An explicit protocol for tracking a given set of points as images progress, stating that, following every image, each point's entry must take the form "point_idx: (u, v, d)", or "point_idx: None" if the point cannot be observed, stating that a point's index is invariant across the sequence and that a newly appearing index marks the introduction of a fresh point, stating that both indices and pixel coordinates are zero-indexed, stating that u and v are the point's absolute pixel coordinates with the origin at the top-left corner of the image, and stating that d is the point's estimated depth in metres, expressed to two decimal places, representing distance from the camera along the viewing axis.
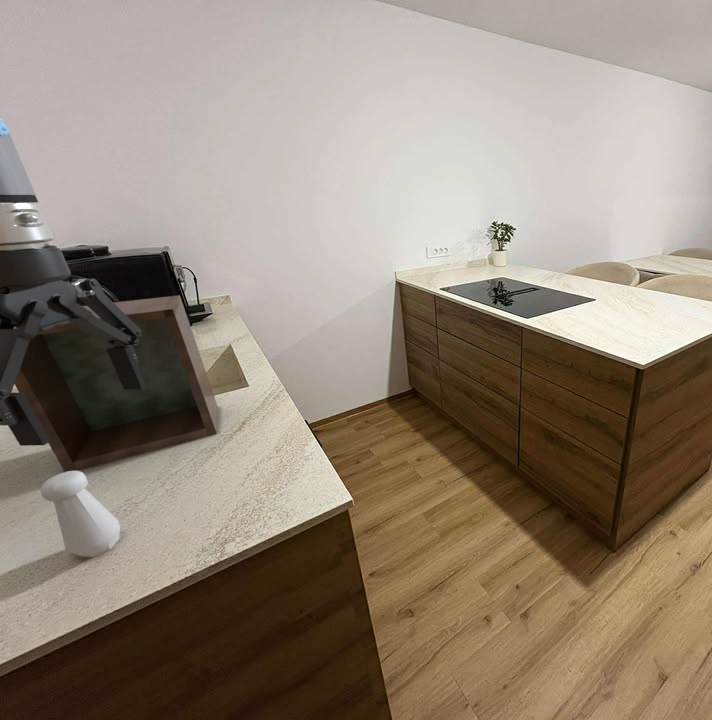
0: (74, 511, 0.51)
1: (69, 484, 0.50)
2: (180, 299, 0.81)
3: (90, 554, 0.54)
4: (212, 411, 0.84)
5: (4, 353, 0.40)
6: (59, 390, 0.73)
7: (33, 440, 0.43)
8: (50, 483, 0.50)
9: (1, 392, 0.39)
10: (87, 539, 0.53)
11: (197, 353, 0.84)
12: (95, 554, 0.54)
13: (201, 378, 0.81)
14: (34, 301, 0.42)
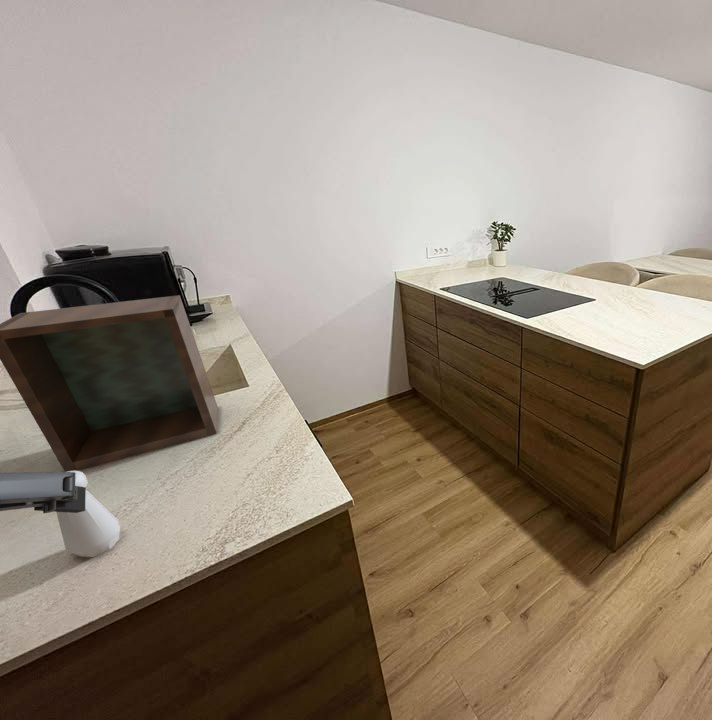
0: None
1: None
2: (180, 299, 0.81)
3: (90, 554, 0.54)
4: (212, 411, 0.84)
5: None
6: (59, 390, 0.73)
7: None
8: None
9: None
10: (87, 539, 0.53)
11: (197, 353, 0.84)
12: (95, 554, 0.54)
13: (201, 378, 0.81)
14: None
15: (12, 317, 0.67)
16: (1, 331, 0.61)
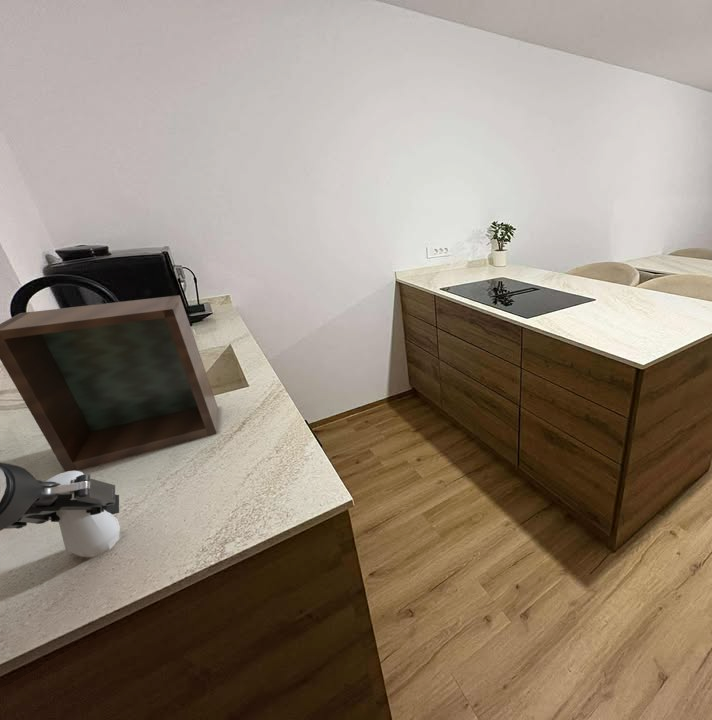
0: (73, 511, 0.51)
1: None
2: (180, 299, 0.81)
3: (90, 554, 0.54)
4: (212, 411, 0.84)
5: None
6: (59, 390, 0.73)
7: None
8: None
9: (38, 523, 0.50)
10: (87, 539, 0.53)
11: (197, 353, 0.84)
12: (95, 554, 0.54)
13: (201, 378, 0.81)
14: None
15: (12, 317, 0.67)
16: (1, 331, 0.61)
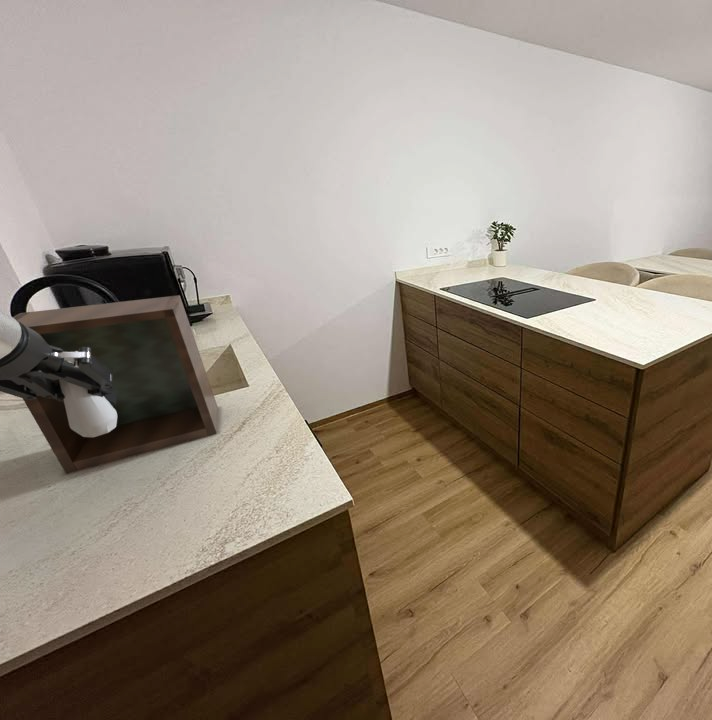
0: (77, 391, 0.59)
1: None
2: (180, 299, 0.81)
3: (91, 433, 0.62)
4: (212, 411, 0.84)
5: None
6: None
7: None
8: None
9: (46, 397, 0.58)
10: (88, 418, 0.60)
11: (197, 353, 0.84)
12: (95, 434, 0.62)
13: (201, 378, 0.81)
14: None
15: None
16: None
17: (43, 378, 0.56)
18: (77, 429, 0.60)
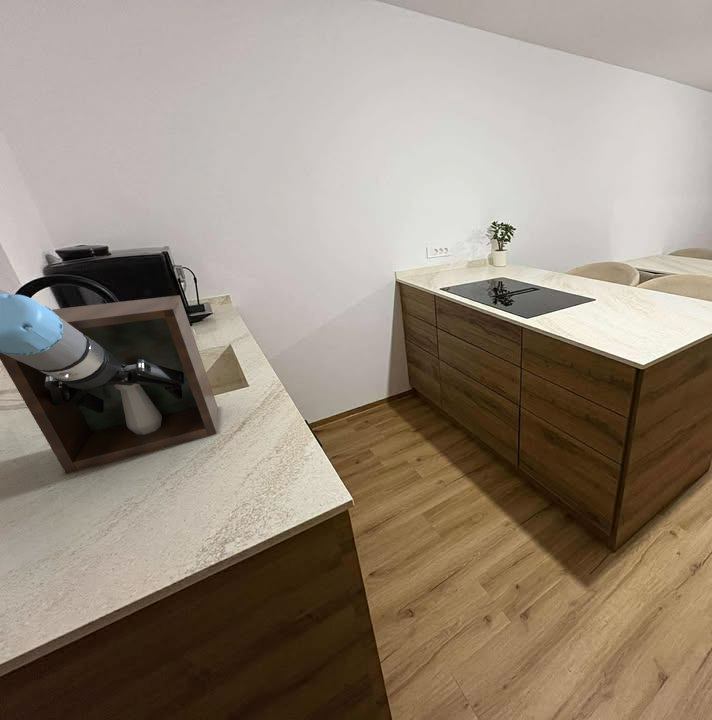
0: (133, 398, 0.76)
1: None
2: (180, 299, 0.81)
3: (143, 431, 0.79)
4: (212, 411, 0.84)
5: (75, 390, 0.69)
6: None
7: None
8: None
9: (70, 403, 0.71)
10: (141, 419, 0.78)
11: (197, 353, 0.84)
12: (146, 432, 0.79)
13: (201, 378, 0.81)
14: None
15: None
16: None
17: None
18: (133, 428, 0.77)
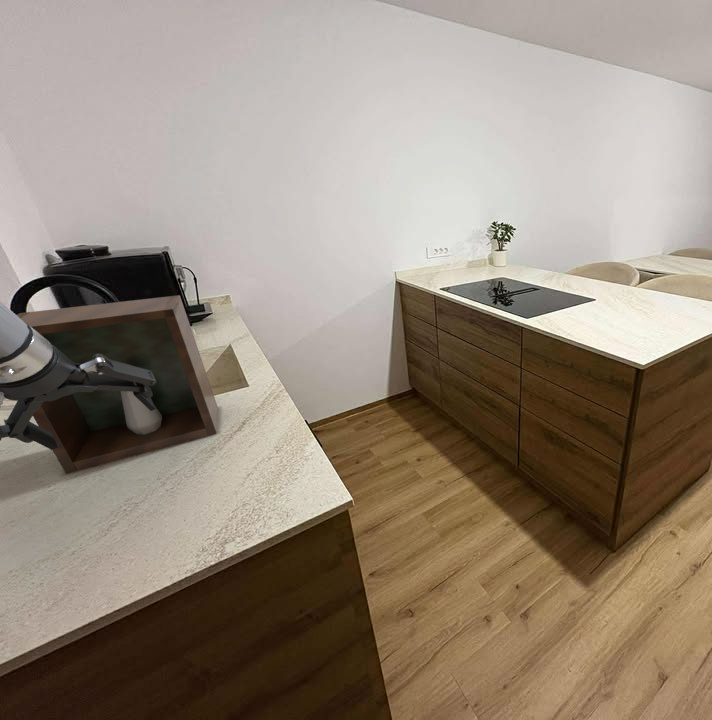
0: (133, 398, 0.76)
1: None
2: (180, 299, 0.81)
3: (143, 431, 0.79)
4: (212, 411, 0.84)
5: (17, 415, 0.54)
6: None
7: None
8: None
9: (12, 436, 0.56)
10: (141, 419, 0.78)
11: (197, 353, 0.84)
12: (146, 432, 0.79)
13: (201, 378, 0.81)
14: None
15: None
16: None
17: None
18: (133, 428, 0.77)
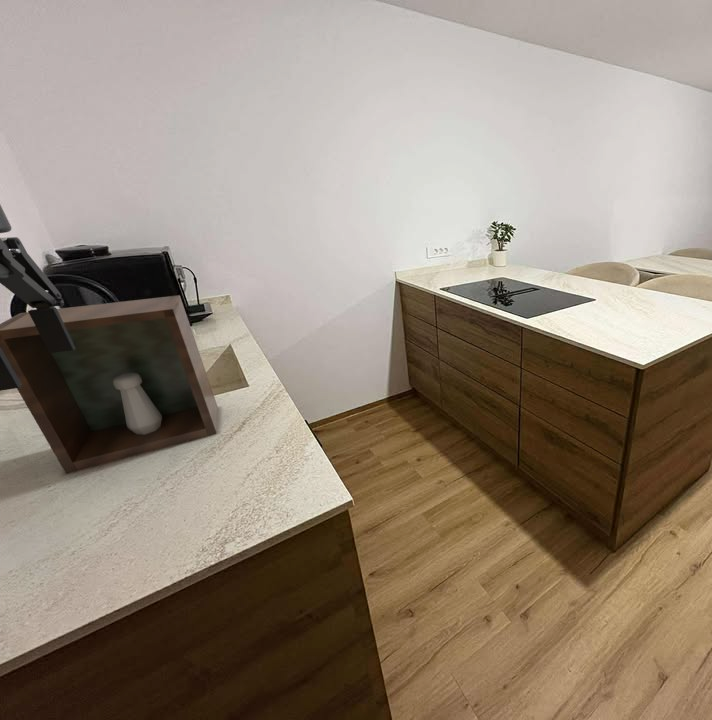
0: (133, 398, 0.76)
1: (131, 379, 0.75)
2: (180, 299, 0.81)
3: (143, 431, 0.79)
4: (212, 411, 0.84)
5: None
6: (59, 390, 0.73)
7: (6, 384, 0.45)
8: (119, 377, 0.75)
9: None
10: (141, 419, 0.78)
11: (197, 353, 0.84)
12: (146, 432, 0.79)
13: (201, 378, 0.81)
14: None
15: (12, 317, 0.67)
16: (1, 331, 0.61)
17: None
18: (133, 428, 0.77)
